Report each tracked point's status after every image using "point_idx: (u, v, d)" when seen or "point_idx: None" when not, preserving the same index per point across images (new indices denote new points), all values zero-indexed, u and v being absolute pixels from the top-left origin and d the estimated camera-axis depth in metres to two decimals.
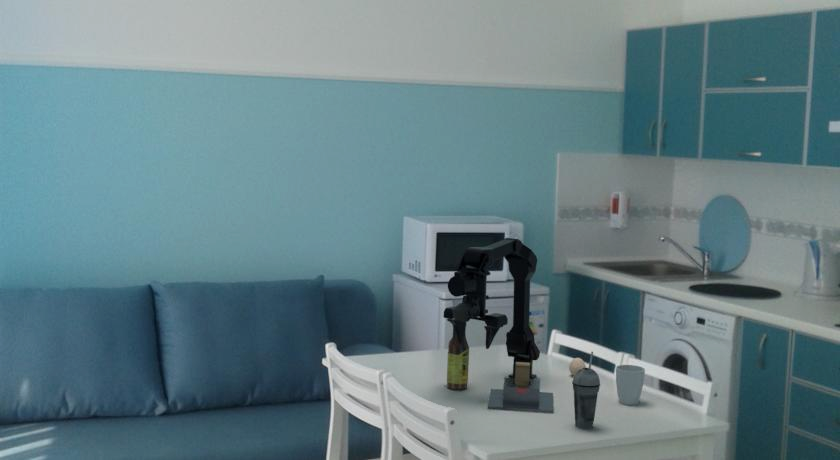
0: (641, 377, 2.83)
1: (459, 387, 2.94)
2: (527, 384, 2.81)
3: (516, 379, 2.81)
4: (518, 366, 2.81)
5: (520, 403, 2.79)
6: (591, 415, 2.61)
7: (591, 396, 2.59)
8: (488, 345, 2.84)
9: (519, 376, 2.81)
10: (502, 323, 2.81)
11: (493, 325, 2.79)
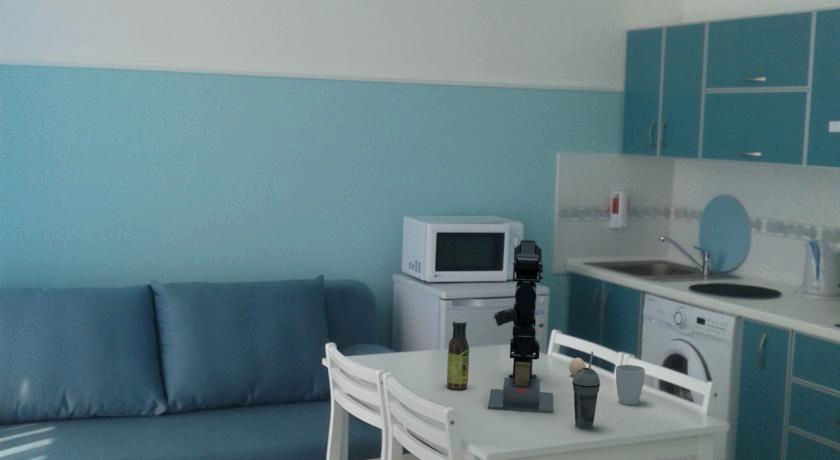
0: (641, 377, 2.83)
1: (459, 387, 2.94)
2: (527, 384, 2.81)
3: (516, 379, 2.81)
4: (518, 366, 2.81)
5: (520, 403, 2.79)
6: (591, 414, 2.61)
7: (591, 396, 2.59)
8: (522, 355, 2.78)
9: (519, 376, 2.81)
10: (523, 333, 2.73)
11: None
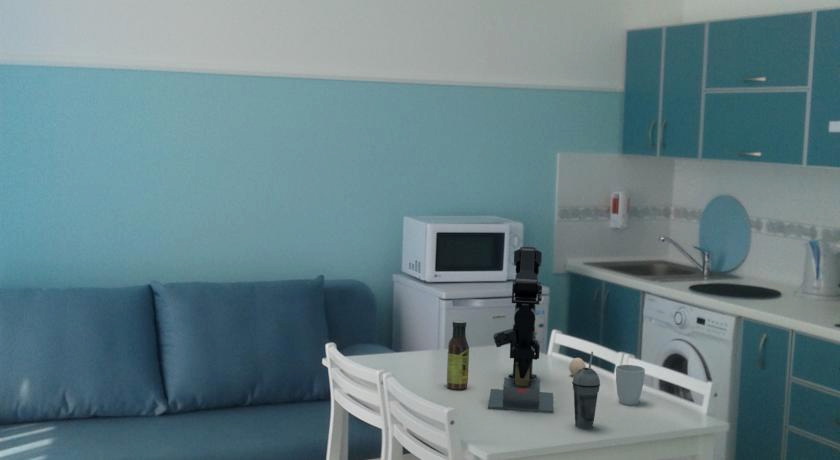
0: (641, 377, 2.83)
1: (459, 387, 2.94)
2: (527, 384, 2.81)
3: (516, 379, 2.81)
4: None
5: (520, 403, 2.79)
6: (591, 415, 2.61)
7: (591, 396, 2.59)
8: (521, 374, 2.80)
9: (519, 376, 2.81)
10: (522, 356, 2.73)
11: (511, 355, 2.74)
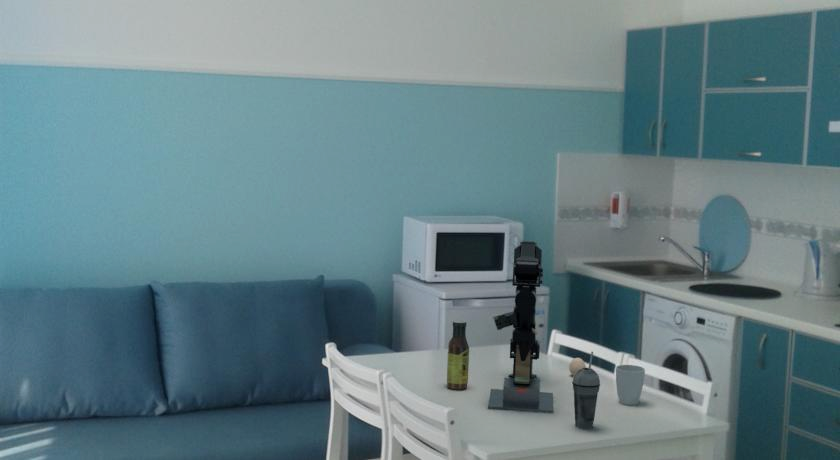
0: (641, 377, 2.83)
1: (459, 387, 2.94)
2: (528, 367, 2.81)
3: (517, 362, 2.81)
4: None
5: (520, 403, 2.79)
6: (591, 415, 2.61)
7: (591, 396, 2.59)
8: (522, 357, 2.80)
9: (519, 359, 2.81)
10: (523, 338, 2.72)
11: (512, 337, 2.74)
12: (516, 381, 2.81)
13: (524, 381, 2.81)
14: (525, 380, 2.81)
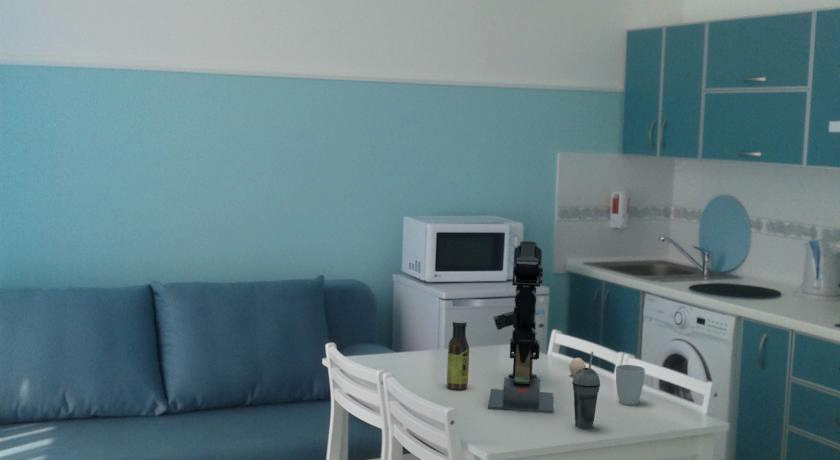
0: (641, 377, 2.83)
1: (459, 387, 2.94)
2: (528, 367, 2.81)
3: (517, 362, 2.81)
4: None
5: (520, 403, 2.79)
6: (591, 415, 2.61)
7: (591, 396, 2.59)
8: (522, 359, 2.77)
9: (519, 359, 2.81)
10: (523, 338, 2.72)
11: (512, 337, 2.74)
12: (516, 381, 2.81)
13: (524, 381, 2.81)
14: (525, 380, 2.81)
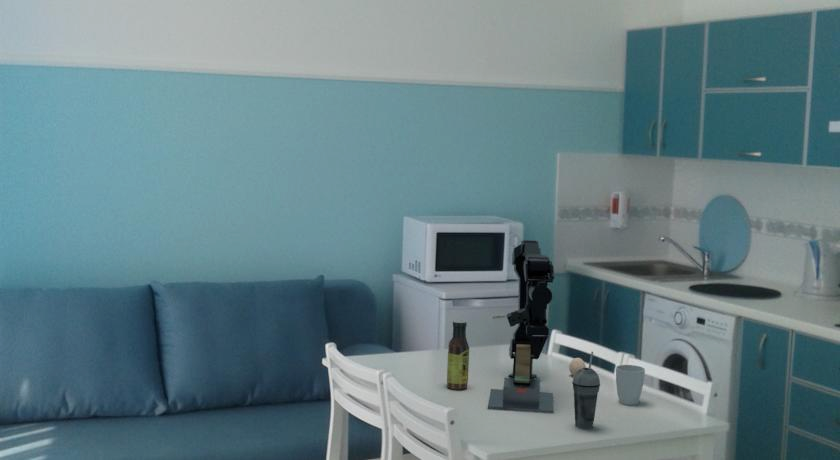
0: (641, 377, 2.83)
1: (459, 387, 2.94)
2: (528, 366, 2.81)
3: (517, 361, 2.81)
4: (519, 348, 2.80)
5: (520, 403, 2.79)
6: (591, 415, 2.61)
7: (591, 396, 2.59)
8: (536, 354, 2.83)
9: (519, 358, 2.81)
10: (537, 333, 2.78)
11: (526, 333, 2.80)
12: (516, 380, 2.81)
13: (524, 380, 2.81)
14: (525, 379, 2.81)
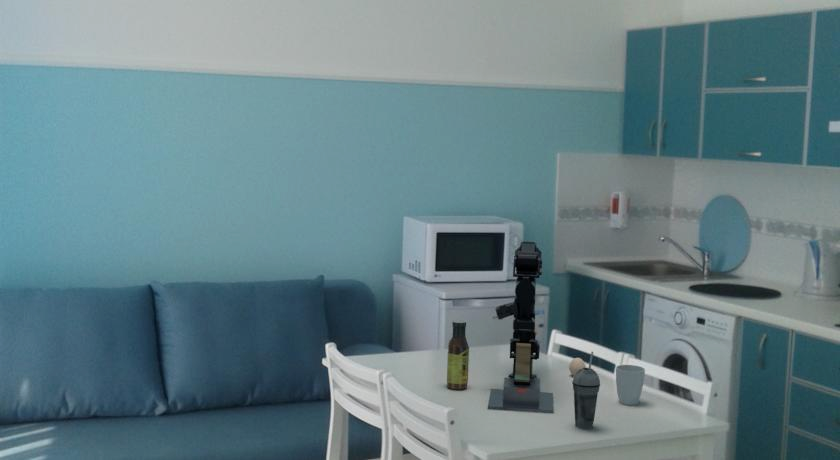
0: (641, 377, 2.83)
1: (459, 387, 2.94)
2: (528, 365, 2.80)
3: (517, 360, 2.81)
4: (519, 347, 2.80)
5: (520, 403, 2.79)
6: (591, 415, 2.61)
7: (591, 396, 2.59)
8: None
9: (520, 357, 2.81)
10: (523, 327, 2.84)
11: (513, 327, 2.85)
12: (516, 379, 2.81)
13: (524, 379, 2.81)
14: (525, 378, 2.81)
